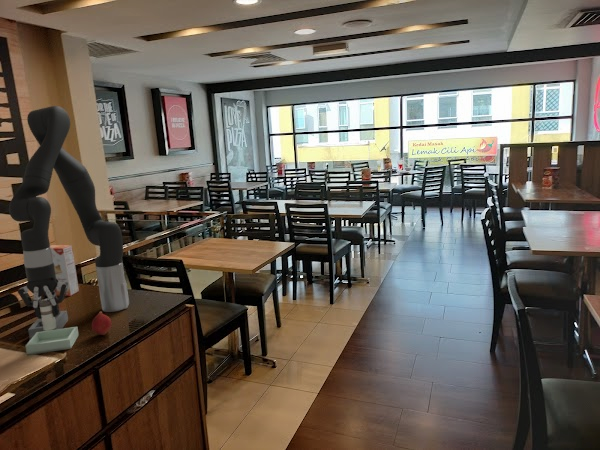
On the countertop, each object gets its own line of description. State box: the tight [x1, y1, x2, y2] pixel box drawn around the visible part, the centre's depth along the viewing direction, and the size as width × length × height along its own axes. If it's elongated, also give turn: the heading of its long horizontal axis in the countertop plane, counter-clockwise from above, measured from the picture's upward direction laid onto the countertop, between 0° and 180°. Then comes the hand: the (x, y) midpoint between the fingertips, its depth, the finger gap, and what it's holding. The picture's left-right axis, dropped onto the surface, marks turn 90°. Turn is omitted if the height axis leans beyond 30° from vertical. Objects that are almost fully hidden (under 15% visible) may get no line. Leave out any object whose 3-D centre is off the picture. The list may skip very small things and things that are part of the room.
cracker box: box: [50, 244, 80, 297], centre depth 184 cm, size 14×6×21 cm, turn 81°
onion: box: [91, 311, 113, 336], centre depth 141 cm, size 6×6×8 cm
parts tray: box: [25, 326, 80, 356], centre depth 137 cm, size 12×10×3 cm
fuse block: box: [28, 310, 69, 341], centre depth 149 cm, size 8×14×4 cm, turn 14°
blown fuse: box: [39, 297, 57, 331], centre depth 135 cm, size 4×4×9 cm
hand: (48, 316), depth 135 cm, fingers closed on blown fuse, 3 cm apart
